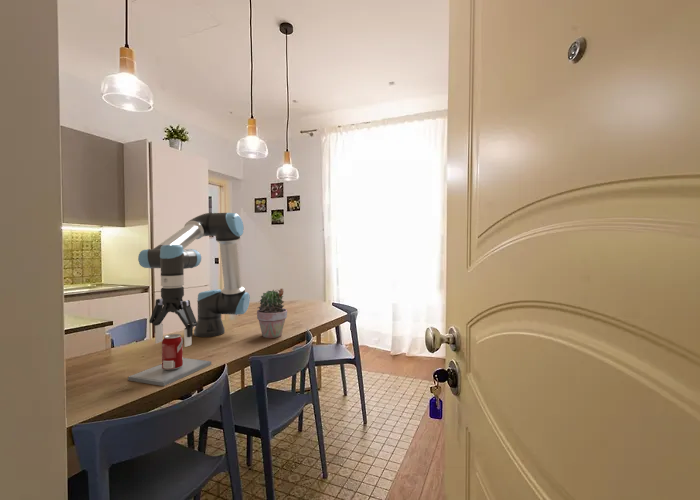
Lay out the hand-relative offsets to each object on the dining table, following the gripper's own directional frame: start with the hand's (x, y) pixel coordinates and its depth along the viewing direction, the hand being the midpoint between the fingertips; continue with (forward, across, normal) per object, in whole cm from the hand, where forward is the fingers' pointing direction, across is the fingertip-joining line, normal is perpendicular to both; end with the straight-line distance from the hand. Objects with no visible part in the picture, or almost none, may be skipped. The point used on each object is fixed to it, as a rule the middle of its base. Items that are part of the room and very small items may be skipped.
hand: (173, 344), depth 123 cm
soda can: (+9, 0, -1) cm, 9 cm away
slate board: (+10, 0, -1) cm, 10 cm away
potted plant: (+12, +6, +56) cm, 58 cm away
